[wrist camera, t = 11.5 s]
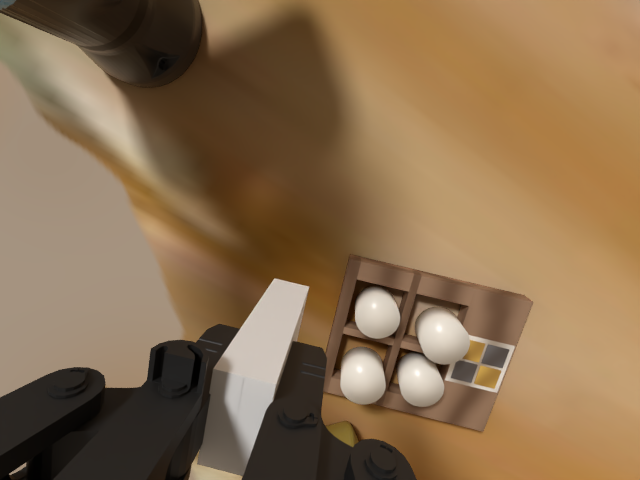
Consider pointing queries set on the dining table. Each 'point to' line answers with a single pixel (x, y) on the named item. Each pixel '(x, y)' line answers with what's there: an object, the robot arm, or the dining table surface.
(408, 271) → the egg tray
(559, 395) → the dining table surface
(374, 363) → the white egg
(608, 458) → the dining table surface
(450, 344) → the white egg
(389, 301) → the white egg
